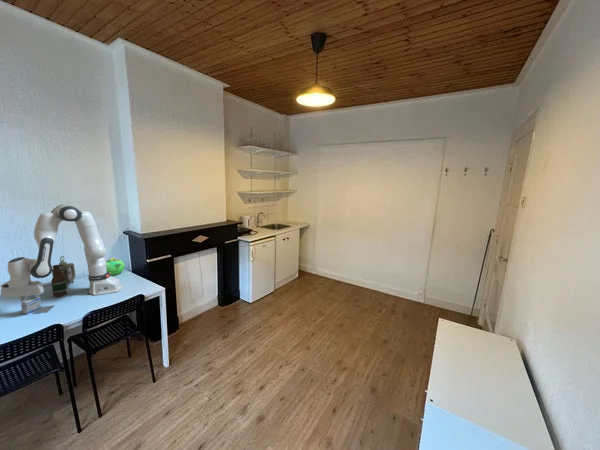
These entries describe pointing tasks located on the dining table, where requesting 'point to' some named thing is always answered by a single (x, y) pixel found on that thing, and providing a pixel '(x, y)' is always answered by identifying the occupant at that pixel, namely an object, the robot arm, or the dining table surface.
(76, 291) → the dining table surface
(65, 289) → the beer bottle
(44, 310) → the mat
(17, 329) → the dining table surface
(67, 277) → the old metal lantern
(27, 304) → the medicine box
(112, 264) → the toy bird
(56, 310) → the dining table surface
